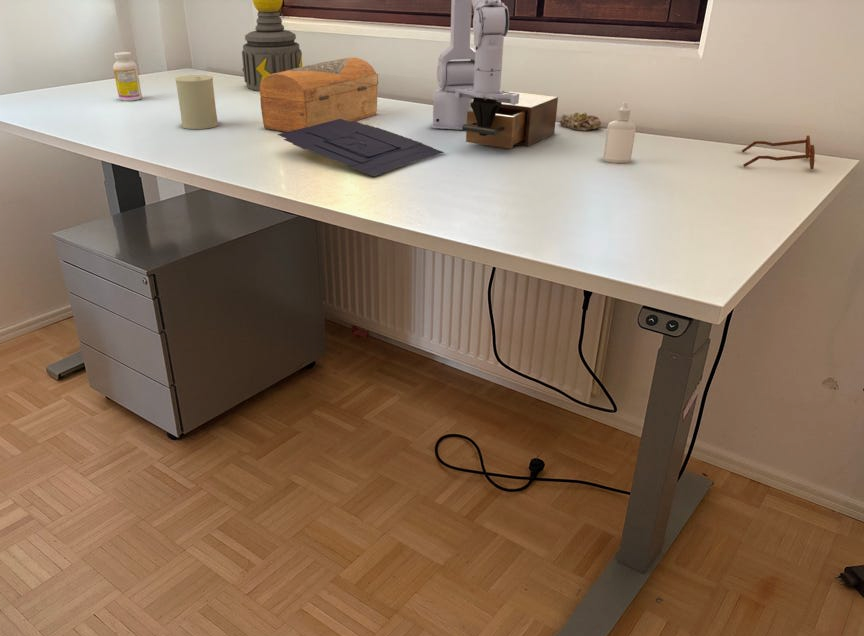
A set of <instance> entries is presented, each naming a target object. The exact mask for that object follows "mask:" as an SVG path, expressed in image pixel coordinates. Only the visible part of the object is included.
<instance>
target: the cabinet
mask: <svg viewBox="0 0 864 636" xmlns="http://www.w3.org/2000/svg"><path fill="white" fill-rule="evenodd" d="M510 92H511V93H516V94H519V103H518V104H515V105H513V104H510V103H502V102H501V106H500V107H502V108H510V109H518V110H526V111H528V112H527V124H526V136H525V140H523V141H520V142H518V143H516V144H514V145H513V146H515V145H516V146H520V147H521V146H522V147H530V146H532V145H534V144H536V143H538V142H540V141H543V140H545V139H547V138H549V137H551V136H554V135H555V132H556V121H557V113H558V102H559V96H552V95H545V94H544V95H543V94H534V93H526V92H517V91H510Z"/></svg>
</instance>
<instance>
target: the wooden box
mask: <svg viewBox="0 0 864 636" xmlns="http://www.w3.org/2000/svg"><path fill="white" fill-rule="evenodd" d="M378 85H379V74H378V73H377V72H376V70H375V69H374V67H373V66H372V65H371V64H370V63H369V62H368V61H366V60H364V59H362V58H359V57H344V58H339V59H334V60H328V61H323V62H318V63H314V64H307V65H304V66H302V67H299V68H295V69H292V70H287V71H283V72H278V73H274V74H271V75H269V76H267V77H266V78H265V79H264V80H263V81H262V82H261V84H260V91H259V95H260V109H261V117H262V118H261V119H262V124H263V128H264V129H268V130H274V131H280V132H284V133H285V132H289V131H293V130H297V129H302V128H306V127H310V126H314V125H318V124H322V123H325V122H329V121H333V120H337V119H343V120H346V121H348V122H353V121H355V122H358V121H359V120H360V121H361V120H363V119H366V118H367V119H368V118H370V117H374V116H376V115H377V113H378V112H377V111H378Z"/></svg>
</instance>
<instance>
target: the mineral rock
mask: <svg viewBox="0 0 864 636" xmlns="http://www.w3.org/2000/svg"><path fill="white" fill-rule="evenodd" d="M559 124H560V125H561V126H562V127H563V128H564V127H565V128H569V129H572V130H574V131H584V132H586V131H589V130H595V129H597V128H600V127H601V125H602V122H601V120H600V118H599V117H598V116H595V115H588V113H587V112H583V113H579V112H574V113H573V114H562V115H561V117H560V120H559Z"/></svg>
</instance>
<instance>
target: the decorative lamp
mask: <svg viewBox="0 0 864 636" xmlns="http://www.w3.org/2000/svg"><path fill="white" fill-rule="evenodd" d="M283 2H284V0H252V4H253V6H254V8H255V9H256V10H257V18H256V22H255V23H256V26H255V28H254V29H255V30H253V31H249V32H248V33H246V34H245V35H244V40H245V41H246V43H244V44H243V45H242V50H241V55H242V56H241V57H242V69H241V70H242V72H243V78H244V79H243V80H244V83H246V84H245V85H246V87H247V89H249V90H251V91H255V92H260V84H261V82H262V81H263V80H264V79H265V78H266V77H267V76H269V75H271V74H274V73H278V72H283V71H287V70H292V69H295V68H299V67H303V52H302V49H300V44H299V43H298V42H296V41H295V40H296V39H297V35H296V33H294V32H292V31H291V30H286V29H285V26H284V25H283V24H282V23H283V20H282V18H281V13H280V10H281V8H282V7H283Z"/></svg>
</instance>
